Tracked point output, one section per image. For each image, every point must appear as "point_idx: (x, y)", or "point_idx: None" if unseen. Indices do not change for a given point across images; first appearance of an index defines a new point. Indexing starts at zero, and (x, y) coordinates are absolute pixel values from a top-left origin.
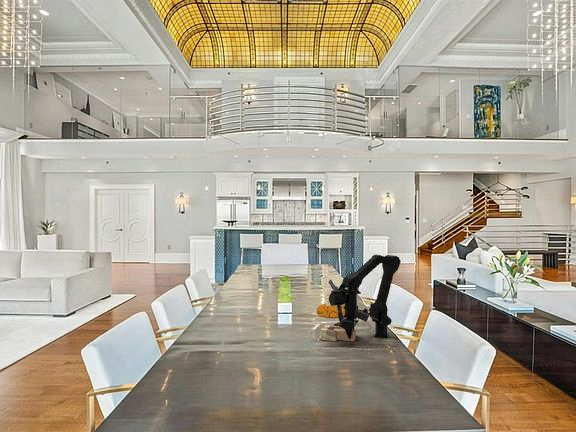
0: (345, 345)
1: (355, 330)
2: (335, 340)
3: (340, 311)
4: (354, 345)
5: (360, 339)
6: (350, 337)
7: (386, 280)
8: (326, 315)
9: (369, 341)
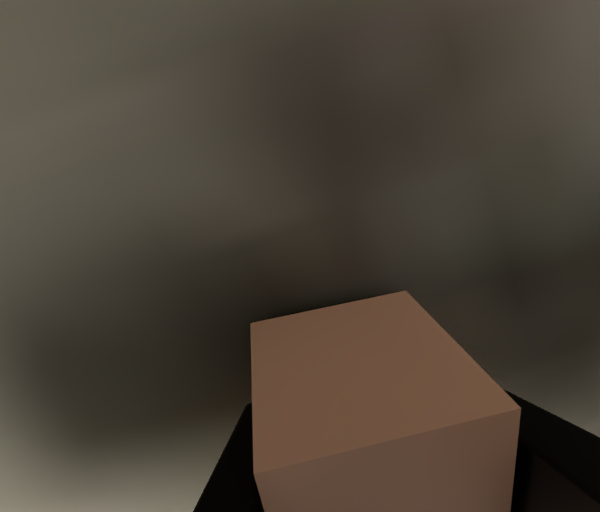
0: (588, 327)
1: (267, 469)
2: None
3: None
4: (568, 216)
5: (187, 245)
6: None
7: None
8: None
9: (220, 9)
